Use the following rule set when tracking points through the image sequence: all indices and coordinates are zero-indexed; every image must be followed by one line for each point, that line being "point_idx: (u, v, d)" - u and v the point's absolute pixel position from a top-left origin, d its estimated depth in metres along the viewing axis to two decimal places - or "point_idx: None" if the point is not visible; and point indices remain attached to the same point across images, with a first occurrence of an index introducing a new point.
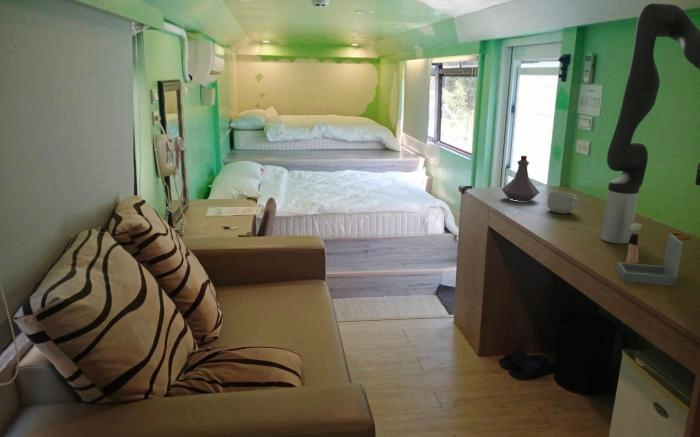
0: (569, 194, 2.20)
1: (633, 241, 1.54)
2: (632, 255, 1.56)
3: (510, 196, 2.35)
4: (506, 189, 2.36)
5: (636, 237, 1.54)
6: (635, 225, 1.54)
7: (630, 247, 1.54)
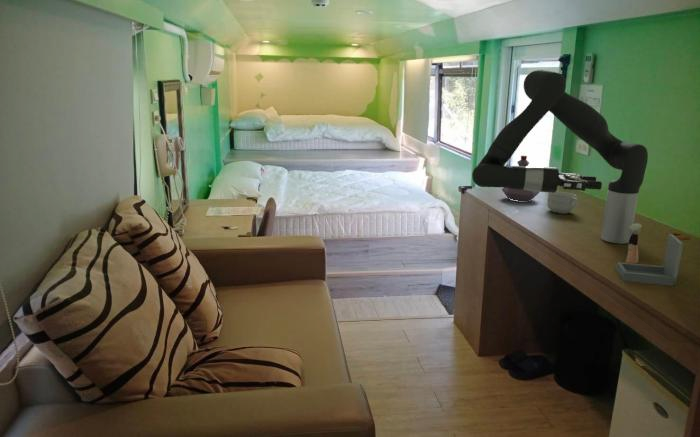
0: (569, 194, 2.20)
1: (633, 241, 1.54)
2: (632, 255, 1.56)
3: (510, 196, 2.35)
4: (506, 189, 2.36)
5: (636, 237, 1.54)
6: (635, 225, 1.54)
7: (630, 247, 1.54)
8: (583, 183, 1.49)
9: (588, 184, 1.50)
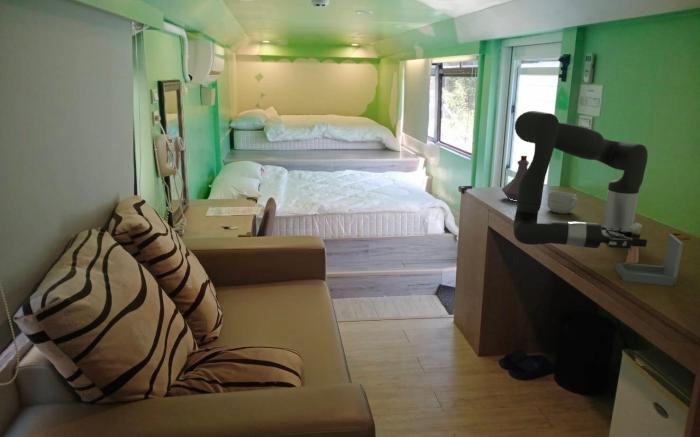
0: (569, 194, 2.20)
1: None
2: (632, 255, 1.56)
3: (510, 196, 2.35)
4: (506, 189, 2.36)
5: (636, 237, 1.54)
6: (635, 225, 1.54)
7: None
8: (629, 241, 1.51)
9: (633, 242, 1.52)
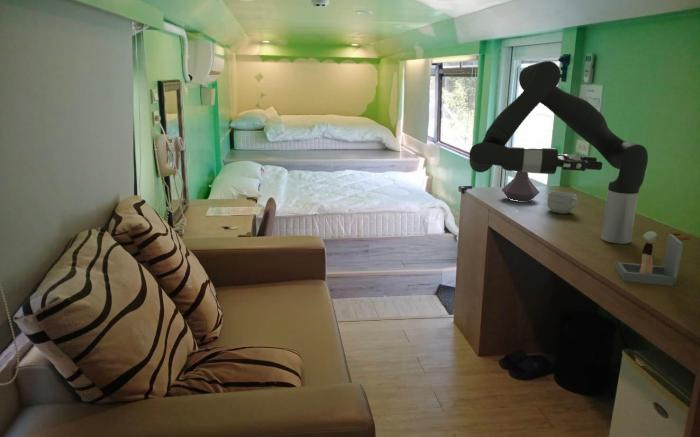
0: (569, 194, 2.20)
1: (647, 251, 1.43)
2: (646, 265, 1.45)
3: (510, 196, 2.35)
4: (506, 189, 2.36)
5: (650, 246, 1.43)
6: (650, 233, 1.43)
7: (644, 257, 1.43)
8: (583, 163, 1.45)
9: (588, 164, 1.46)
